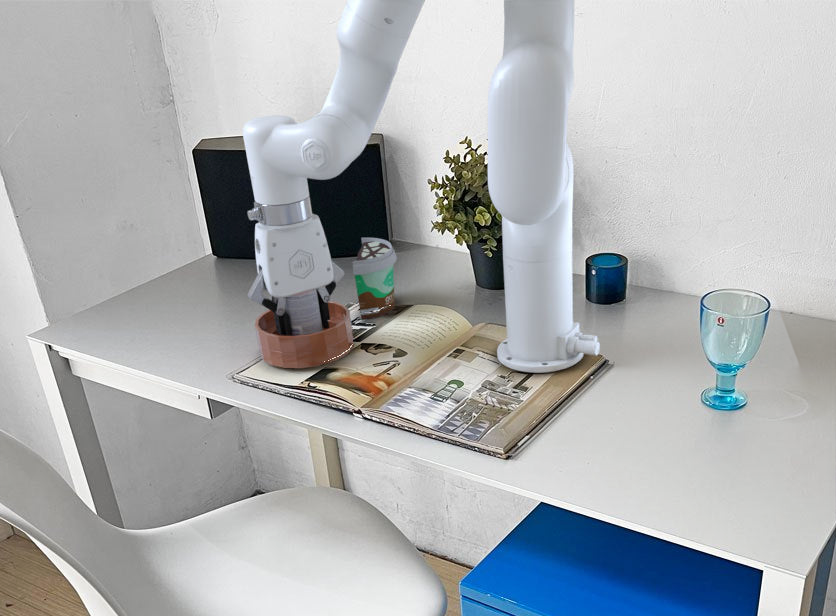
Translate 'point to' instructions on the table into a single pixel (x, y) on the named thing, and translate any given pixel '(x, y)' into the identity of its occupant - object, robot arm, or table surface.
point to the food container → (375, 277)
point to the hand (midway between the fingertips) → (304, 330)
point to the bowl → (305, 341)
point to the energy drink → (304, 313)
